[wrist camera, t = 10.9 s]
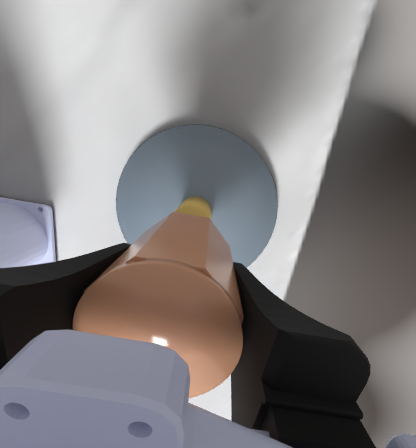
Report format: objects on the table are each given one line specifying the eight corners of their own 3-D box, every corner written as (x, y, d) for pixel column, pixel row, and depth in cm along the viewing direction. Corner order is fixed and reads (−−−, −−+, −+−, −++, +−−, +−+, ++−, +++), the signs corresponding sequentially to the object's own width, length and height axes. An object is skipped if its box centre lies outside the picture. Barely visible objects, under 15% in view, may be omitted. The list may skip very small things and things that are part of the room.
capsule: (178, 225, 20) (166, 244, 15) (181, 193, 19) (169, 203, 14) (209, 229, 20) (207, 249, 15) (213, 198, 19) (213, 209, 14)
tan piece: (139, 284, 14) (74, 387, 8) (146, 205, 13) (69, 250, 6) (219, 297, 15) (224, 410, 8) (236, 221, 13) (262, 283, 6)
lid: (118, 266, 22) (113, 270, 22) (123, 112, 18) (118, 109, 17) (254, 288, 23) (255, 293, 22) (294, 143, 18) (298, 141, 17)
